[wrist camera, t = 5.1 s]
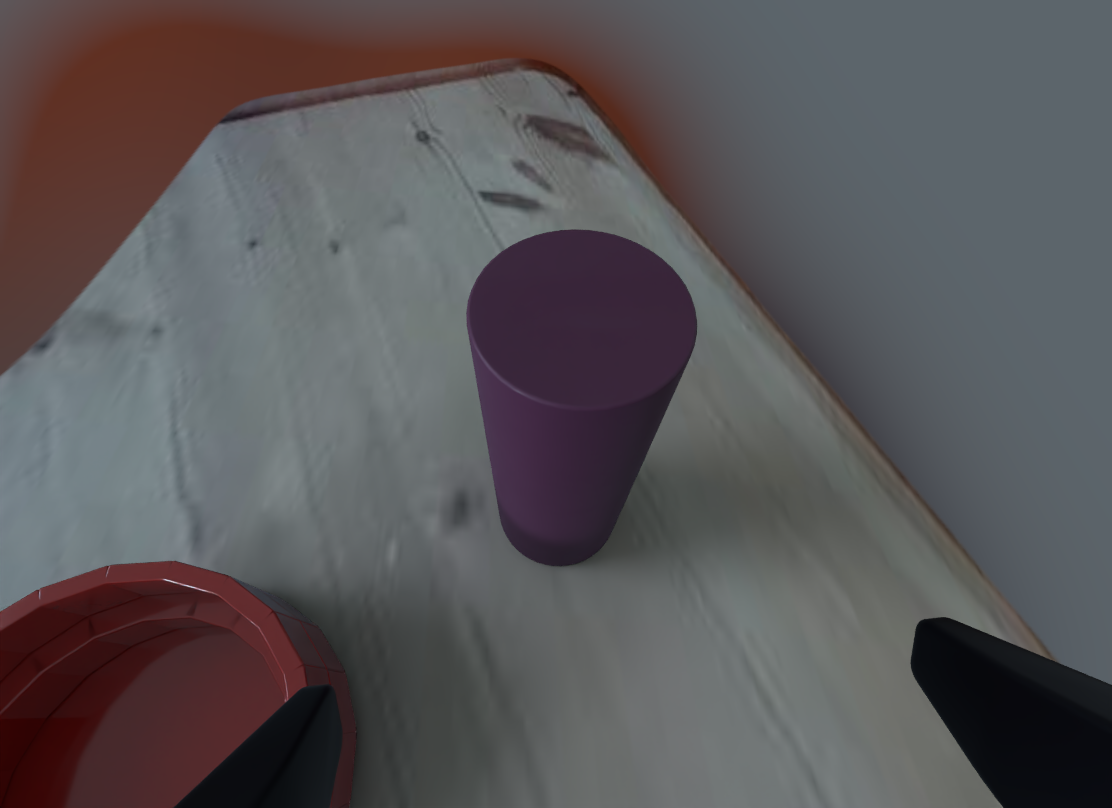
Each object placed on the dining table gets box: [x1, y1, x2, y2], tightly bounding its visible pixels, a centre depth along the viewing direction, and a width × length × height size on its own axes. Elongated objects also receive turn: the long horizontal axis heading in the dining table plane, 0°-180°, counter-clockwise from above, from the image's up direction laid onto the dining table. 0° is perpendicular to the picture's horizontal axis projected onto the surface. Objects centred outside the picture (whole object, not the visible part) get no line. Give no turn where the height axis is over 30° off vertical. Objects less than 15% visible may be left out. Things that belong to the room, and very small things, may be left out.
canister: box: [466, 230, 697, 566], centre depth 17 cm, size 5×5×13 cm
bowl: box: [0, 561, 357, 808], centre depth 15 cm, size 12×12×4 cm
